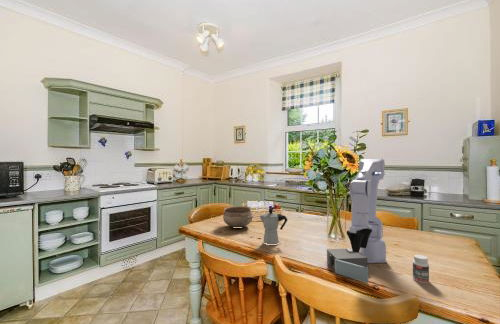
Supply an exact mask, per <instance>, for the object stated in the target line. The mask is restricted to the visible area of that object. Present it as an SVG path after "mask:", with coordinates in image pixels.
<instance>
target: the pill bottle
mask: <svg viewBox="0 0 500 324" xmlns="http://www.w3.org/2000/svg"><path fill="white" fill-rule="evenodd" d="M428 262H429V257H427V256H426V255H423V254H414V255H413V260H412V279H413V280H414V281H415V282H417V283H420V284H428V283H430V265H429V263H428Z"/></svg>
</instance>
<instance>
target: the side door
mask: <svg viewBox="0 0 500 324" xmlns="http://www.w3.org/2000/svg"><path fill="white" fill-rule="evenodd" d="M334 274H337V275H340V276H343V277H347V278H350V279H353V280H357V281H360V282H364V283H369V267H368V266H367V267H364V266H360V265H356V264H352V263H348V262H345V261H341V260H337V259H335V270H334Z"/></svg>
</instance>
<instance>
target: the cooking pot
mask: <svg viewBox="0 0 500 324" xmlns="http://www.w3.org/2000/svg"><path fill="white" fill-rule="evenodd" d="M223 210H224V211H223V212H222V213H223V216H222V218H223V219H222V220H223V222H224V224H225V225H227V226H229V227H230V226H231V228H232V227H243V228H245V227H247V226H248V225H250V223H251V222H252V220H253V218H254V215H253V213H252V207H250V206H247V205H245V206H244V205H233V206H227V207H224V208H223ZM244 226H245V227H244Z"/></svg>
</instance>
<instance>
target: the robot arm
mask: <svg viewBox="0 0 500 324" xmlns="http://www.w3.org/2000/svg"><path fill="white" fill-rule="evenodd" d="M385 166H386V165H385V159H384V158H360V159H359V162H358V169H359V172H357V174H356V176H355V179H353V180H352V181H350V182H349V194H350V195H349V198H350V200H351V215H350V217H351V221H350V222H351V223H350V226H349V230H346V235H347V237H348V239H349V242H350V246H351V248H352V251H353V252H357V253H359V252H360V253H362V254H363V255H364V256H366V257H367V264H375V263H381V264H382V263H388V261H387V245H386V242H385V240H384V239H383V236H384V228H383V226H384V224H383V222H382V220H381V219H380V218H379V217H377V207H378V206H377V205H378V204H377V203H378V190H379V183H380V180H383V179H384V176H385Z"/></svg>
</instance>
